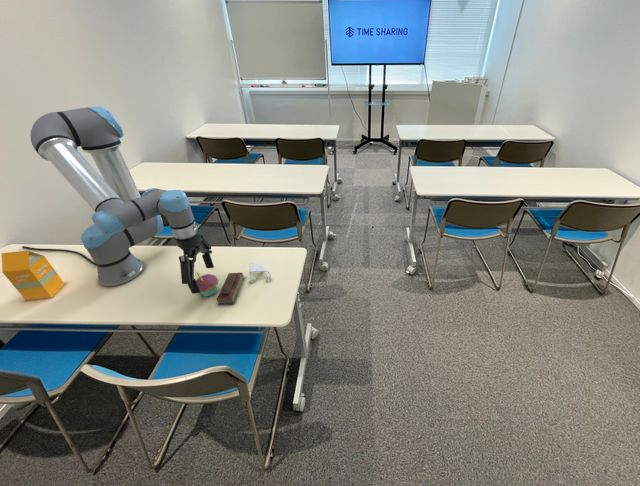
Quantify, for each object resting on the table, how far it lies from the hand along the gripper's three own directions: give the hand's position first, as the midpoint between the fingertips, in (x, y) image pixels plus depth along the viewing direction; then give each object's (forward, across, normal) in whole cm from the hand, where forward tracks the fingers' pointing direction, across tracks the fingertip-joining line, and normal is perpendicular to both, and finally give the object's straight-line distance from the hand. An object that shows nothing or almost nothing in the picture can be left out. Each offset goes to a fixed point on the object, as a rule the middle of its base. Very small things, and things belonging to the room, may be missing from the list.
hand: (203, 279), depth 112 cm
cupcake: (+7, 0, 0) cm, 7 cm away
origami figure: (+6, +7, -19) cm, 21 cm away
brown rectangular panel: (+6, 0, -10) cm, 11 cm away
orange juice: (+8, +4, +64) cm, 65 cm away
